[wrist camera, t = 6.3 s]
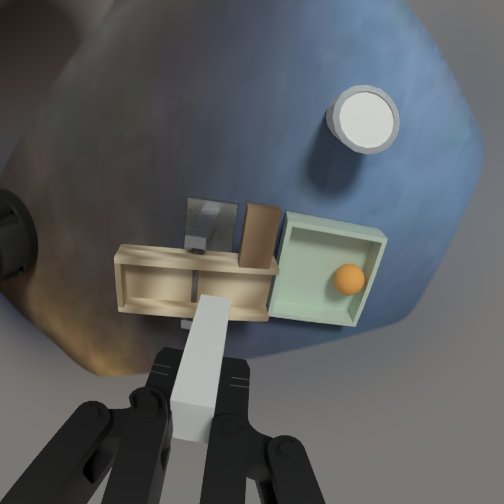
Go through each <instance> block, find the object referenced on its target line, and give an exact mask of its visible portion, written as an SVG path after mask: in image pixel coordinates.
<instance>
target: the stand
mask: <svg viewBox="0 0 504 504" xmlns="http://www.w3.org/2000/svg"><path fill="white" fill-rule="evenodd" d="M237 209H238V203H234V202H227V201H221V200H214V199H207V198H200V197H193V196H189V197H188V203H187V215H186V228H185V242H184V249H189V250H192V248H197V249H203V251H215V252H228V253H231V252H232V244H233V237H234V230H235V223H236V216H237ZM193 319H194V318H185V317H182V319H181V328H185V329H191V326H192V323H193Z"/></svg>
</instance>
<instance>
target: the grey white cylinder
mask: <svg viewBox="0 0 504 504" xmlns="http://www.w3.org/2000/svg"><path fill="white" fill-rule="evenodd" d="M326 121H327V126H328V128H329V129H330V131H331V132H332V134H333V135H334V136H335V137H337V138H338V139H339V140H340V141H341V142H342V143H344V144H345V145H346V146H348V147H349V148H351V149H352V150H353V151H355V152H359V153H363V154H367V155H368V154H374V153H380V152H382V151H383V150H385V149H386V148H388V147H389V146H391V144H392V143H393V141H394V140H395V138H396V137H397V135H398V130H399V125H400V120H399V114H398V109H397V107H396V106H395V104H394V102H393V101H392V99H391V97H389V96H388V95H387V94H386V93H384V92H383V91H382V90H381V89H379V88H376V87H373V86H369V85H360V86H353V87H351V88H350V89H348V90H346V91H345V92H343V93H342V94H340V95H339V96H338V97H337V98H335V99H334V100H333V101H332V102H331V104H330V105H329V107H328V108H327V112H326Z"/></svg>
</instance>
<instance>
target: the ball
mask: <svg viewBox="0 0 504 504" xmlns="http://www.w3.org/2000/svg"><path fill="white" fill-rule="evenodd" d="M364 282H365V277H364V273H363V271H362V270H361V269H360V268H359V267H358V266H357V265H354V264H345V265H342V266H341V267H339V268H338V269H337V271H336V272H335V275H334V285H335V287H336V289H337V290H338V291H339V292H340V293H341V294H343V295H348V296H350V295H354V294H357V293H358V292H359V291H360V290H361V289H362V288H363V286H364Z"/></svg>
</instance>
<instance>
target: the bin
mask: <svg viewBox="0 0 504 504" xmlns="http://www.w3.org/2000/svg"><path fill="white" fill-rule="evenodd" d="M387 240H388V239H387V238H386V237H385V235H384V234H383V233H382V232H381V231H380V230H379V229H378V228H373V227H368V226H364V225H359V224H354V223H348V222H343V221H338V220H333V219H328V218H322V217H317V216H311V215H306V214H300V213H295V212H289V211H286V215H285V220H284V225H283V230H282V235H281V239H280V244H279V249H278V254H277V259H276V263H277V265H278V267H279V270H280V271H279V275H273V278H272V282H271V287H270V292H269V296H268V302H267V312H268V315H269V316H272V317H279V318H286V319H294V320H302V321H310V322H318V323H327V324H335V325H345V326H356V324H357V322H358V319H359V317H360V314H361V312H362V309H363V307H364V304H365V302H366V299H367V297H368V294H369V291H370V289H371V286H372V283H373V281H374V278H375V275H376V272H377V270H378V267H379V264H380V261H381V258H382V255H383V252H384V249H385V246H386V243H387ZM345 264H354V265H357V266H358V267H359V268H360V269H361V270H362V271H363V273H364V277H365V282H364V286H363V288H362V289H361V290H360V291H359V292H358V293H357V294H354V295H350V296H348V295H343V294H341V293H340V292H339V291H338V290H337V289H336V287H335V285H334V275H335V272H336V271H337V269H338V268H339V267H341V266H342V265H345Z"/></svg>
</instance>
